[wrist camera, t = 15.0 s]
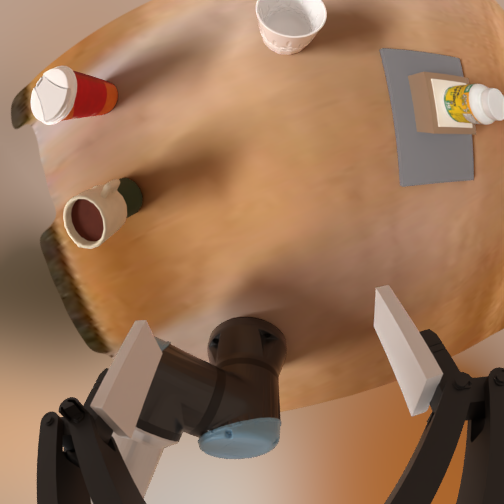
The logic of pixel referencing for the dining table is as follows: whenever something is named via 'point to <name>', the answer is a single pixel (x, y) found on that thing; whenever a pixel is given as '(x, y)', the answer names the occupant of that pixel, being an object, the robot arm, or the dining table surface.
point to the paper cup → (71, 96)
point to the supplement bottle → (473, 104)
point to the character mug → (101, 211)
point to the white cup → (289, 23)
